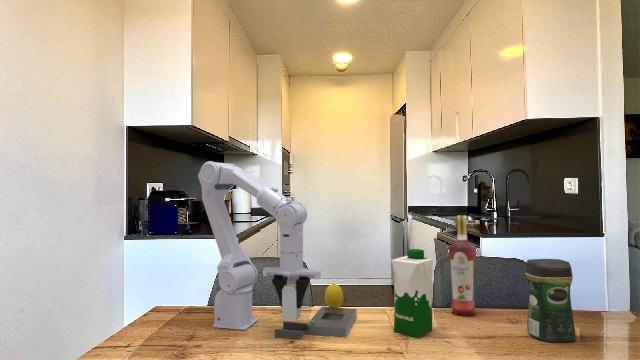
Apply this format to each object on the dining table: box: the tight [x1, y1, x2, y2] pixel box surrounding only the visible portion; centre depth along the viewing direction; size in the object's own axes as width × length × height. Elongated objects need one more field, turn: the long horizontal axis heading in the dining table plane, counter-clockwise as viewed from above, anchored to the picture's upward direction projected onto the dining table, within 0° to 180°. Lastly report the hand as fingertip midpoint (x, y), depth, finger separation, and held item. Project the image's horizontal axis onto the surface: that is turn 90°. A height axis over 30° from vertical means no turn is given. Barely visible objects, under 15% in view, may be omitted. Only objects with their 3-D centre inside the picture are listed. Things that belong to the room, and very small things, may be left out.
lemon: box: [324, 282, 344, 308], centre depth 114 cm, size 6×6×8 cm
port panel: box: [305, 306, 358, 338], centre depth 101 cm, size 10×16×3 cm, turn 165°
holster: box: [274, 320, 308, 341], centre depth 95 cm, size 6×7×2 cm
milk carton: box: [390, 248, 434, 339], centre depth 97 cm, size 9×9×20 cm
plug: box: [281, 282, 302, 322], centre depth 95 cm, size 4×4×8 cm
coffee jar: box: [525, 258, 576, 342], centre depth 92 cm, size 10×8×19 cm
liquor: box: [448, 215, 477, 317], centre depth 111 cm, size 7×7×28 cm
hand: (291, 306), depth 95 cm, fingers closed on plug, 4 cm apart
